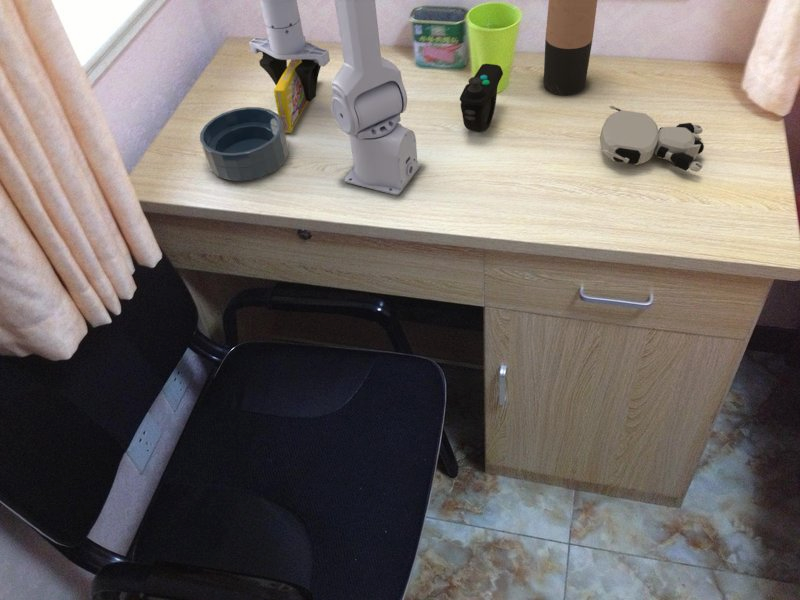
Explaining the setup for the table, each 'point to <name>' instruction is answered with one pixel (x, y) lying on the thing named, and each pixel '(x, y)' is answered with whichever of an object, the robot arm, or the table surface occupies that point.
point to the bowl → (244, 143)
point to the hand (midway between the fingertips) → (298, 95)
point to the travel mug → (568, 45)
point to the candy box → (290, 96)
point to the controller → (480, 98)
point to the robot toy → (649, 140)
